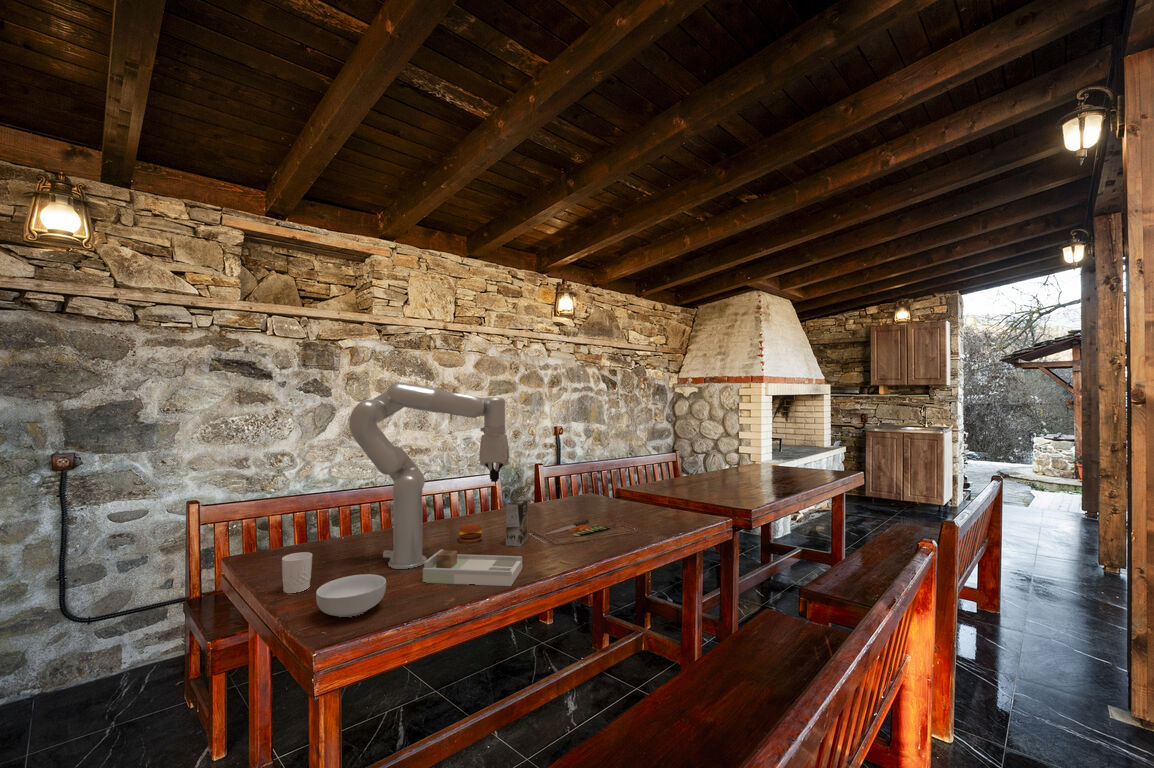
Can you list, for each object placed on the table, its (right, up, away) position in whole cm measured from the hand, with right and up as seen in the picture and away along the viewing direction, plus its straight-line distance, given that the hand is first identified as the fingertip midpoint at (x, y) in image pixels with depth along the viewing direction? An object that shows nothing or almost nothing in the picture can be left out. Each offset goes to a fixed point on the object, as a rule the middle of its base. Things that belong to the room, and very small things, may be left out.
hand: (494, 481), depth 173 cm
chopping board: (+33, -29, +32) cm, 55 cm away
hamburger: (-13, -28, +20) cm, 38 cm away
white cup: (-54, -26, -31) cm, 67 cm away
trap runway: (-3, -26, -20) cm, 33 cm away
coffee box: (+6, -28, +16) cm, 33 cm away
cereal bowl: (-30, -26, -46) cm, 61 cm away
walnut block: (-12, -23, -19) cm, 33 cm away
